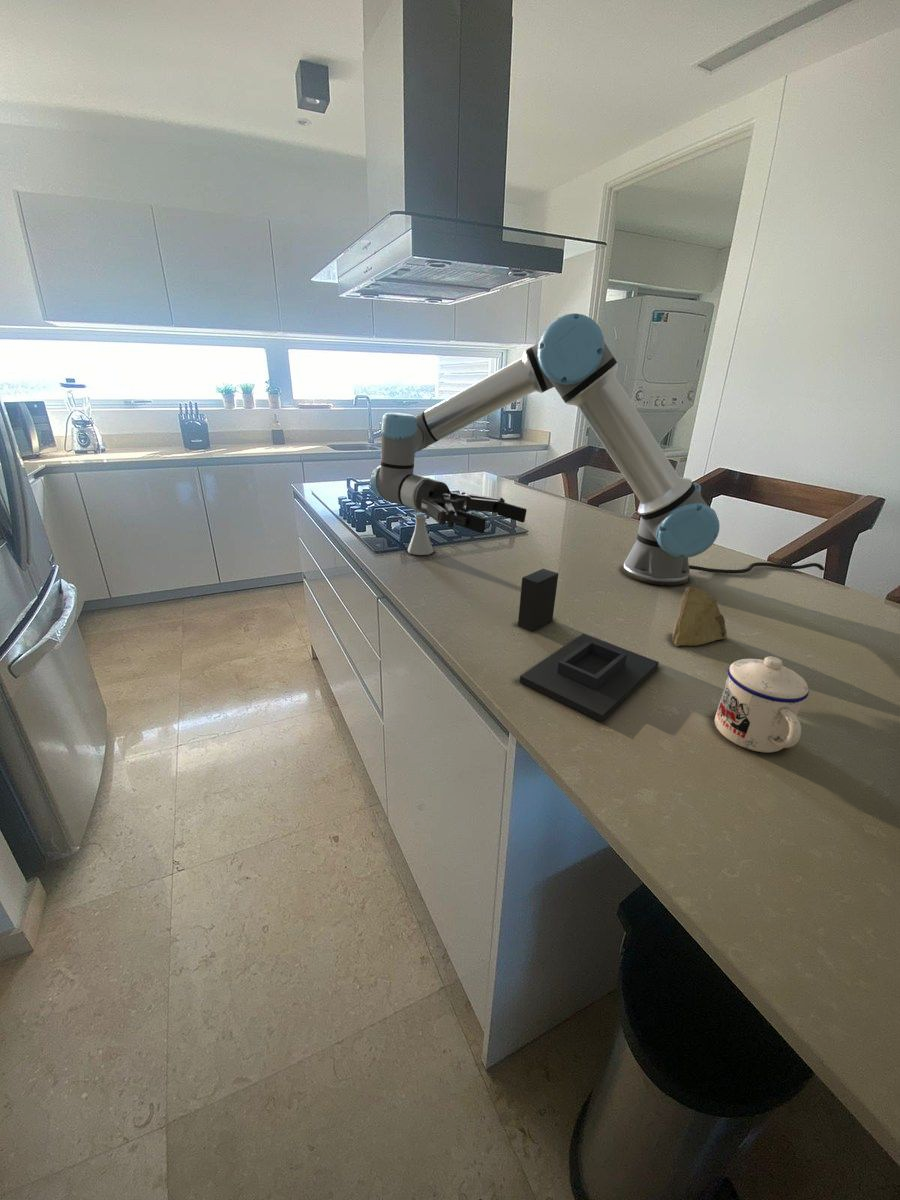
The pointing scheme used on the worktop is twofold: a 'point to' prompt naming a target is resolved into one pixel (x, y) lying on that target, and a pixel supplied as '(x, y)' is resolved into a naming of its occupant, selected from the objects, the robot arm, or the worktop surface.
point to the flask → (420, 538)
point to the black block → (537, 599)
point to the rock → (698, 619)
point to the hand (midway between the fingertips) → (505, 520)
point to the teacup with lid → (761, 705)
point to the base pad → (590, 675)
